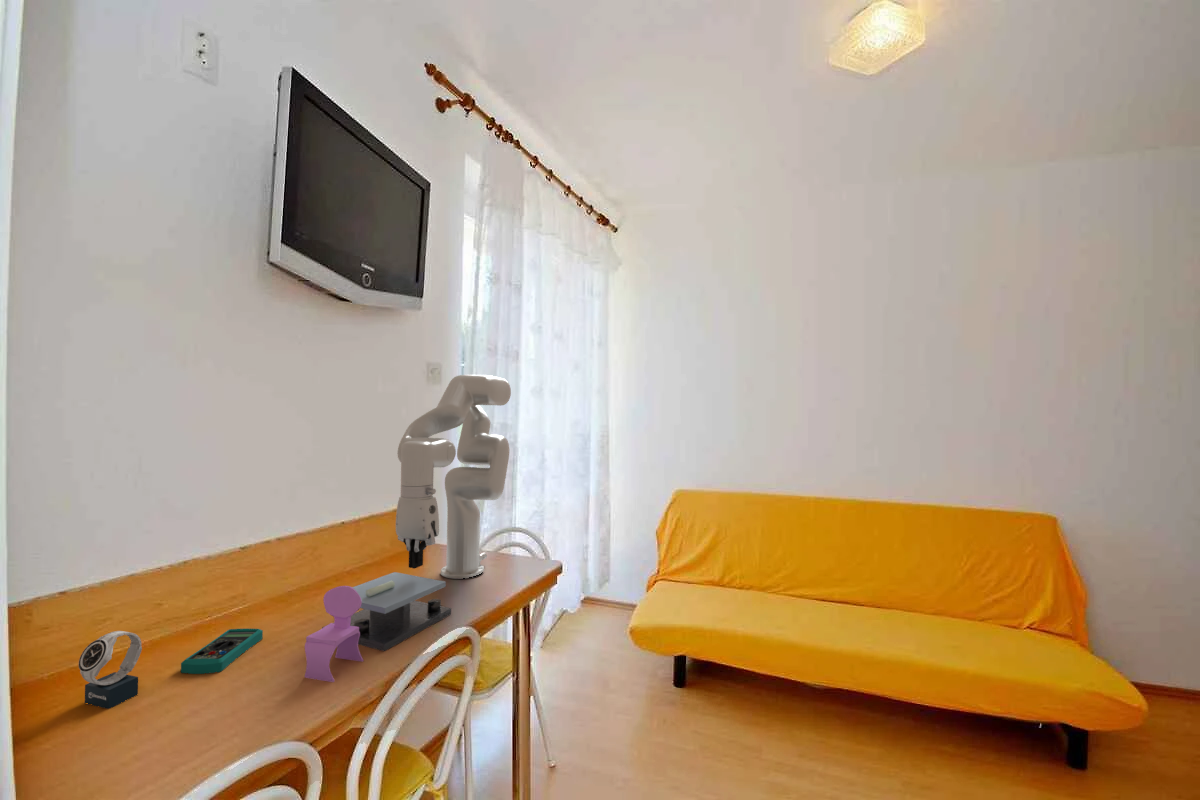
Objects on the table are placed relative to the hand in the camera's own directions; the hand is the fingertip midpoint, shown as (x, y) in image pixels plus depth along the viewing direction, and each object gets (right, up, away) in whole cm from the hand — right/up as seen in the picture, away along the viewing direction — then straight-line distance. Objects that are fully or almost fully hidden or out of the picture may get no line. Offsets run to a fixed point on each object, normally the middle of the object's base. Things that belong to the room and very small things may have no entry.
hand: (415, 566), depth 129 cm
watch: (-38, -10, -40) cm, 56 cm away
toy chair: (-6, -11, -29) cm, 31 cm away
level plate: (-3, -4, -8) cm, 9 cm away
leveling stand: (-3, -11, -8) cm, 14 cm away
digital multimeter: (-30, -11, -24) cm, 40 cm away
